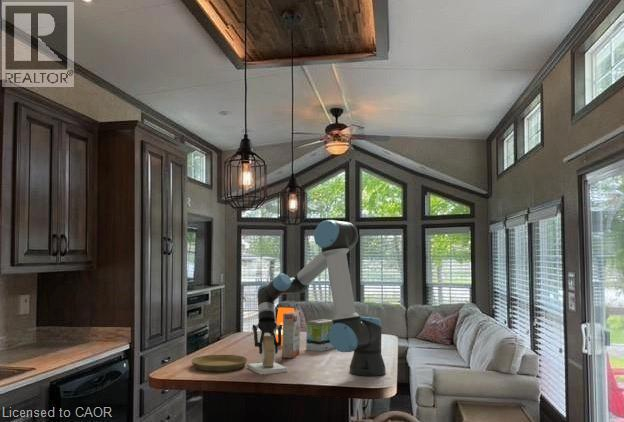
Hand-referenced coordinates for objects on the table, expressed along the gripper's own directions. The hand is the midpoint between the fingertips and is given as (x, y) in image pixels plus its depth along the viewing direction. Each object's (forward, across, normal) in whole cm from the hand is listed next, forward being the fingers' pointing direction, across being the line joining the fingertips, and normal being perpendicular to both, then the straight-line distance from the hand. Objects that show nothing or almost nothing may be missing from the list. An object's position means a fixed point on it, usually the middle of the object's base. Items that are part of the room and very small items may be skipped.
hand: (268, 359), depth 205 cm
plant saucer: (-6, +20, -14) cm, 25 cm away
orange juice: (-41, -15, -49) cm, 65 cm away
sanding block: (0, 0, -5) cm, 5 cm away
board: (0, 0, -7) cm, 7 cm away
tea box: (-31, -32, -39) cm, 60 cm away
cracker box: (-20, -14, -28) cm, 37 cm away
